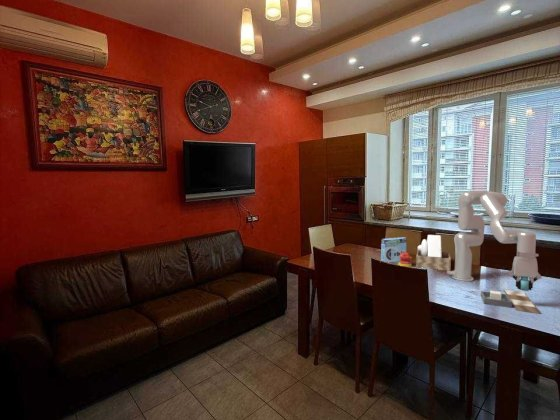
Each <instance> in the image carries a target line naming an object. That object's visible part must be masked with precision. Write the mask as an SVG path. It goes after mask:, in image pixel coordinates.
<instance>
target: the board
mask: <svg viewBox="0 0 560 420" xmlns="http://www.w3.org/2000/svg"><path fill="white" fill-rule="evenodd" d="M503 292H504V294H507V295H508V297H509V299H510V300H511V302H512V305H513V307H514V309H515V310H516V311H518V312H525V313H531V314H539V315H542V312H541V311H540V309H538V307H537V306H536V305H535V304H534V302H533V301H532V300H531V299H530V297H529V296H528V295H527V293H525V291H518V290H510V289H503Z"/></svg>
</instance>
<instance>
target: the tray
mask: <svg viewBox="0 0 560 420" xmlns="http://www.w3.org/2000/svg"><path fill="white" fill-rule="evenodd" d="M480 298H481V301H482V302H483V304H484V305H489V306H497V307H498V306H499V307H503V308H509V309H510V308H511V309H512V305H513V304H512V302H511V300H510V299H509V297H508V295H507V294H506V293H501V300H496V299H490V291H483V290H481V291H480Z"/></svg>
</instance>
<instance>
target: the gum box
mask: <svg viewBox="0 0 560 420" xmlns="http://www.w3.org/2000/svg"><path fill="white" fill-rule="evenodd" d="M380 243H381V244H380V245H381V246H380V248H381V249H380V250H381V251H380V262H381V261H384V262H388V263H393V264H397V265H398V263H399V261H400V260H401V259H400V254H401V253H404V252H406V253H407V237H405V236H399V237H389V238H381V241H380Z"/></svg>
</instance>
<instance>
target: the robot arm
mask: <svg viewBox="0 0 560 420" xmlns="http://www.w3.org/2000/svg"><path fill="white" fill-rule="evenodd" d="M457 203H458V215H457V216H458V219H457V226H458V229H459V230H461V231H462V232H458V233H456V234H455V235H454V239H453V240H454V241H453V242H454V247H455V250H454V251H455V252H454V253H455V256H454V259H455V260H454V269H453V270H450V271H448V270H446V274H447V275H451V278H452V279H454V280H457V281H460V282H472V281H474V277H473V276H472V264H473V263H472V261H473V260H472V259H473V253H472V250H471V248H470V247H478V246H481V245H482V244H483V242H484V238H485V227H486V226H485V221H484V219H483V217H481V216H480V215H475V209H474V207H473V205H482V208H483V209H484V210H485V212H486V214H488V216H489V218H490V221H489V228H490V231H491V233H492V235H493V237H494V238H495V239H496V241H498V242H499V243H500V244H505V245H506V244H516V256H514V258H513V260H512V261H513V262H512V268H511V270H510V271H509V272H508V273H507V274H508V276H510V277H512V278H513V279H514V280H515V288H517V289H518V290H520V280H519V279H521V276H523V277H528V280H529V291H532V289H533V288H534V287H533V285H534V283H535V282H536V281H538V280H541V279H542V278H543V277H542V276H541V274H540V273H539V272H538V271H539V267H538V260H537V257H539V253H536V246H537V244H536V243H537V242H536V241H537V234H536V233H535V232H533V231H525V230H523V229H505V228H504V227H503V226H502V223H501V220H503V219H504V218H506V217H507V215H508V211H507V210H506V208H505V207H504V206H506V205H507V204H508V197H507V196H506V194H504V193H502V192H496V191H489V190H470V191H469V190H468V191H464V192H462V193H461V194H460V195H459V196H458V200H457Z"/></svg>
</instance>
